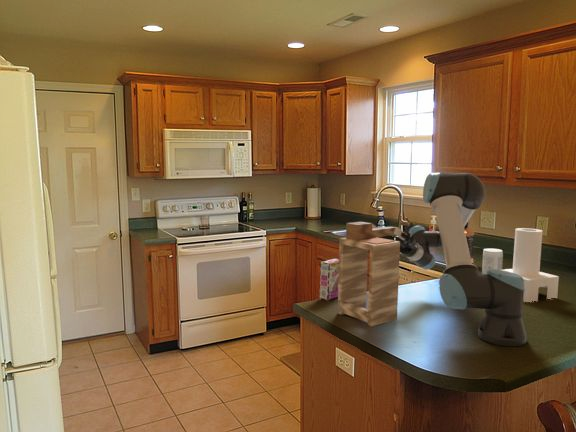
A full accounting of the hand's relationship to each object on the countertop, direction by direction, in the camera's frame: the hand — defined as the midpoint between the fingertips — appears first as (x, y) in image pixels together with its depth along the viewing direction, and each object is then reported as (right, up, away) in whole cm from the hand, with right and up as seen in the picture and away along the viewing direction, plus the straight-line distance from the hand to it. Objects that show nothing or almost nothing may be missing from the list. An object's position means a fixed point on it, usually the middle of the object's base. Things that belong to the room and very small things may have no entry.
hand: (382, 228), depth 193 cm
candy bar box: (-19, -31, +18) cm, 41 cm away
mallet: (-4, -3, -3) cm, 6 cm away
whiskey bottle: (+64, -24, +87) cm, 110 cm away
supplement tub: (+68, -27, +57) cm, 93 cm away
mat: (-5, -5, -14) cm, 15 cm away
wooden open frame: (-7, -34, -7) cm, 36 cm away
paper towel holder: (+70, -31, +25) cm, 81 cm away
